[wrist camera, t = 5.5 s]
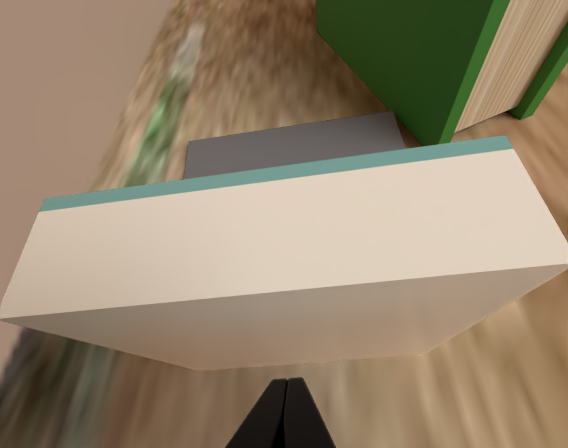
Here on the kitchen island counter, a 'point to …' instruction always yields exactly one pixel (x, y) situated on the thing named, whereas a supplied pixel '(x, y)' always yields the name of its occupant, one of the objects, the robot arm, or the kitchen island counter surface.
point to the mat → (294, 145)
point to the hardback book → (450, 56)
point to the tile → (292, 258)
